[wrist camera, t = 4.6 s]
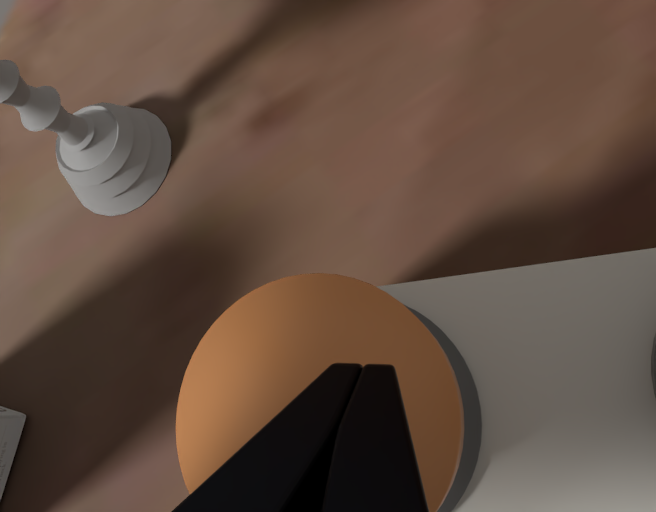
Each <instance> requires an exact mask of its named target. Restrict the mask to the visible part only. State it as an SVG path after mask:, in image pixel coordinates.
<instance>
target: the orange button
mask: <svg viewBox="0 0 656 512" xmlns="http://www.w3.org/2000/svg"><path fill="white" fill-rule="evenodd" d="M334 363H359V364H361V365H362V366H363V367H364V366H365V365H366V364H391V365H393V366H394V367H395V369H396V373H397V377H398V382H399V386H400V390H401V394H402V399H403V403H404V407H405V411H406V416H407V420H408V424H409V428H410V432H411V437H412V441H413V445H414V449H415V454H416V458H417V462H418V466H419V471H420V475H421V479H422V483H423V488H424V492H425V496H426V500H427V504H428V509H429V512H437V511H438V509H439V508H440V506H441V505H442V504H443V502H444V500H445V498H446V496H447V494H448V492H449V490H450V488H451V487H452V484H453V482H454V479H455V476H456V473H457V470H458V468H459V463H460V459H461V454H462V449H463V440H464V409H463V404H462V398H461V392H460V388H459V385H458V382H457V379H456V376H455V372H454V370H453V368H452V366H451V364H450V362H449V359H448V357H447V355H446V354H445V352H444V350H443V349H442V347H441V346H440V344H439V342H438V341H437V339H436V338H435V337H434V336H433V335H432V333H431V332H430V331H429V330H428V329H427V327H426V326H425V325H424V324H423V323H422V322H421V321H420V320H419V319H418V318H417V317H416V316H415V315H414V314H413V313H412V312H411V311H410V310H409V309H408V308H406V307H405V306H404V305H403V304H402V303H401V302H399V301H398V300H397V299H395V298H394V297H392V296H391V295H389V294H388V293H387V292H385V291H383V290H381V289H379V288H377V287H375V286H373V285H371V284H369V283H366V282H363V281H360V280H358V279H355V278H351V277H346V276H341V275H337V274H324V273H313V274H300V275H295V276H290V277H285V278H282V279H279V280H276V281H273V282H270V283H267V284H265V285H263V286H261V287H259V288H257V289H255V290H253V291H251V292H250V293H248V294H246V295H245V296H243V297H242V298H240V299H239V300H237V301H236V302H235V303H234V304H233V305H231V306H230V307H229V308H228V309H227V310H226V311H224V312H223V314H222V315H221V316H220V317H219V318H218V319H217V320H216V321H215V322H214V323H213V324H212V326H211V327H210V328H209V330H208V331H207V332H206V334H205V335H204V336H203V338H202V339H201V341H200V343H199V345H198V346H197V348H196V350H195V352H194V353H193V355H192V358H191V360H190V362H189V365H188V367H187V369H186V372H185V375H184V379H183V382H182V385H181V388H180V394H179V399H178V405H177V415H176V443H177V451H178V457H179V463H180V467H181V471H182V474H183V478H184V481H185V484H186V486H187V489H188V491H189V494H191V493H192V492H193V491H194V490H196V489H197V488H198V487H199V486H200V485H201V484H202V483H203V482H204V481H205V480H206V479H207V478H209V477H210V476H211V475H212V474H213V473H214V472H215V471H216V470H217V469H218V468H219V467H220V466H222V465H223V464H224V463H225V462H226V461H227V460H228V459H229V458H230V457H231V456H232V455H233V454H235V453H236V452H237V451H238V450H239V449H240V448H241V447H242V446H243V445H244V444H245V443H247V442H248V441H249V440H250V439H251V438H252V437H253V436H254V435H255V434H256V433H257V432H258V431H260V430H261V429H262V428H263V427H264V426H265V425H266V424H267V423H268V422H269V421H270V420H271V419H273V418H274V417H275V416H276V415H277V414H278V413H279V412H280V411H281V410H282V409H283V408H284V407H286V406H287V405H288V404H289V403H290V402H291V401H292V400H293V399H294V398H295V397H296V396H297V395H299V394H300V393H301V392H302V391H303V390H304V389H305V388H306V387H307V386H308V385H309V384H310V383H312V382H313V381H314V380H315V379H316V378H317V377H318V376H319V375H320V374H321V373H322V372H323V371H325V370H326V369H327V368H328V367H329V366H330V365H332V364H334Z"/></svg>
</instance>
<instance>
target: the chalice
mask: <svg viewBox="0 0 656 512" xmlns="http://www.w3.org/2000/svg"><path fill="white" fill-rule="evenodd" d="M0 103H4V104H7V105H11V106H14V107H15V108H16V109H17V110H18V111H19V112H20V116H21V121H22V123H23V125H24V127H25V128H27V129H28V130H30V131H40V130H43V129H47V130H50V131H53V132H56V133H57V134H58V137H57V140H56V157H57V162H58V166H59V170H60V171H61V173H62V174H63V175H64V177H65V178H66V179H67V182H68V183H69V185H70V186H71V188H72V189H73V190H74V192H75V194H76V196H77V197H78V199H79V200H80V201H81V203H82V204H83V206H85V207H86V208H88V209H89V210H91V211H92V212H94V213H96V214H101V215H106V216H114V215H120V214H126V213H128V212H130V211H132V210H134V209H136V208H138V207H140V206H142V205H143V204H144V203H145V202H146V201H147V200H148V199H149V198H150V197H151V196H152V195H154V194H155V193H156V191H157V190H158V188H159V186H160V185H161V183H162V182H163V180H164V178H165V177H166V174H167V170H168V167H169V164H170V161H171V140H170V137H169V134H168V131H167V128H166V126H165V125H164V124H163V122H162V121H161V120H160V119H159V118H158V116H156V115H155V114H153V113H151V112H149V111H147V110H145V109H139V108H130V107H128V106H120V105H115V104H111V103H98V104H94V105H90V106H87V107H85V108H82V109H81V110H79V111H77V112H75V113H74V114H70V113H68V112H67V111H66V110H65V109H64V108H63V107H62V106H61V104H60V97H59V94H58V92H57V91H56V89H54V88H52V87H51V86H42V87H38V88H36V87H32V86H29V85H27V84H26V83H25V81H24V80H23V79H22V78H21V76H20V74H19V70H18V67H17V66H16V64H15V63H14V62H12V61H10V60H0Z"/></svg>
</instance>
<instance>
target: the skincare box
mask: <svg viewBox="0 0 656 512" xmlns="http://www.w3.org/2000/svg"><path fill="white" fill-rule="evenodd" d="M25 419H26V415H25V414H23V413H21V412H17V411H14V410H11V409H8V408H5V407H2V406H0V501H1V498H2V494H3V491H4V488H5V485H6V481H7V478H8V475H9V472H10V468H11V465H12V462H13V459H14V456H15V452H16V449H17V446H18V443H19V439H20V436H21V433H22V429H23V426H24V423H25Z"/></svg>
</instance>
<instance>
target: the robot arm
mask: <svg viewBox="0 0 656 512" xmlns="http://www.w3.org/2000/svg"><path fill="white" fill-rule="evenodd" d="M172 512H429V509H428V504H427V500H426V496H425V492H424V488H423V483H422V479H421V475H420V471H419V466H418V462H417V458H416V454H415V449H414V445H413V441H412V437H411V432H410V428H409V424H408V420H407V416H406V411H405V407H404V403H403V399H402V394H401V390H400V386H399V382H398V377H397V373H396V369H395V367H394V366H393V365H391V364H366V365H365V366H364V367H363V366H362V365H361V364H359V363H334V364H332V365H330V366H329V367H328V368H327V369H326V370H325V371H323V372H322V373H321V374H320V375H319V376H318V377H317V378H316V379H315V380H314V381H313V382H312V383H310V384H309V385H308V386H307V387H306V388H305V389H304V390H303V391H302V392H301V393H300V394H299V395H297V396H296V397H295V398H294V399H293V400H292V401H291V402H290V403H289V404H288V405H287V406H286V407H284V408H283V409H282V410H281V411H280V412H279V413H278V414H277V415H276V416H275V417H274V418H273V419H271V420H270V421H269V422H268V423H267V424H266V425H265V426H264V427H263V428H262V429H261V430H260V431H258V432H257V433H256V434H255V435H254V436H253V437H252V438H251V439H250V440H249V441H248V442H247V443H245V444H244V445H243V446H242V447H241V448H240V449H239V450H238V451H237V452H236V453H235V454H233V455H232V456H231V457H230V458H229V459H228V460H227V461H226V462H225V463H224V464H223V465H222V466H220V467H219V468H218V469H217V470H216V471H215V472H214V473H213V474H212V475H211V476H210V477H209V478H207V479H206V480H205V481H204V482H203V483H202V484H201V485H200V486H199V487H198V488H197V489H196V490H194V491H193V492H192V493H191V494H190V495H189V496H188V497H187V498H186V499H185V500H184V501H183V502H181V503H180V504H179V505H178V506H177V507H176V508H175V509H174V510H173V511H172Z"/></svg>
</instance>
